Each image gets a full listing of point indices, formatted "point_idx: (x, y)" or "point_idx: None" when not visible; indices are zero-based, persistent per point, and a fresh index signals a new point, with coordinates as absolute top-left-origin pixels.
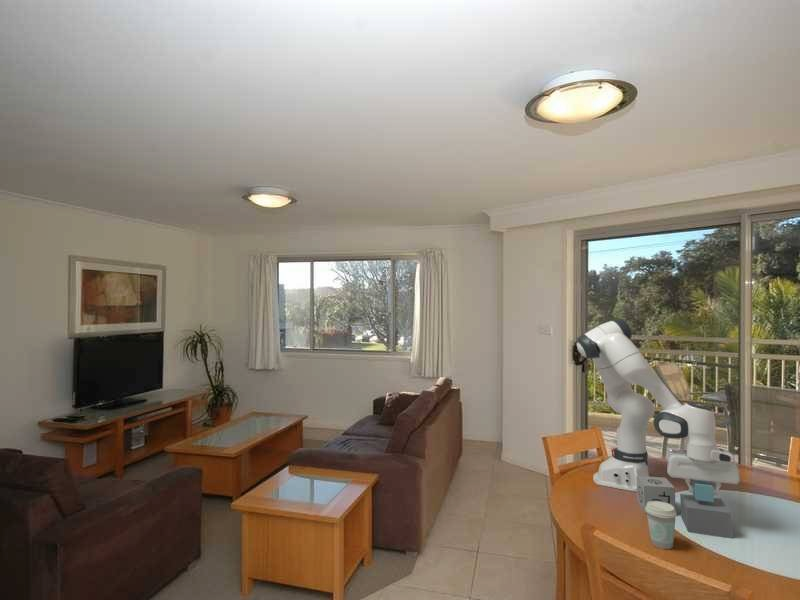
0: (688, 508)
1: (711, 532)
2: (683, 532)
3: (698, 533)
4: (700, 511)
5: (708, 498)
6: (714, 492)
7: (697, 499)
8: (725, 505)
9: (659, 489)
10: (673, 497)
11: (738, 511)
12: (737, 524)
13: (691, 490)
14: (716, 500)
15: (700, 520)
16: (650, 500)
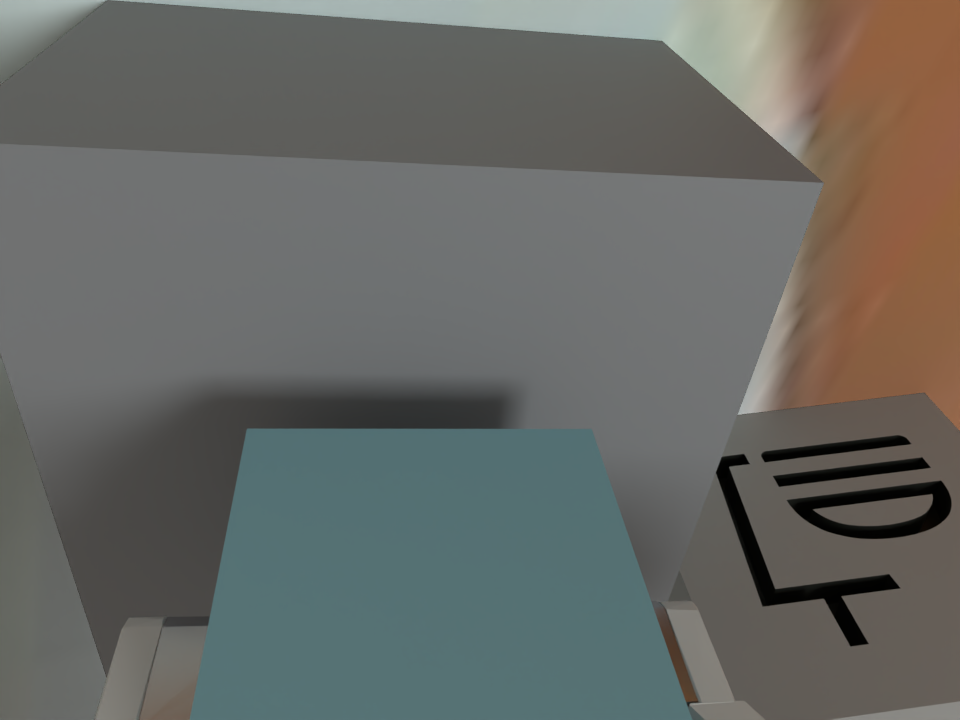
0: (790, 171)
1: (375, 30)
2: (728, 9)
3: (537, 33)
4: (565, 150)
5: (353, 475)
6: (181, 666)
7: (567, 440)
8: (46, 482)
9: (935, 660)
10: (713, 595)
11: (8, 672)
12: (24, 431)
13: (672, 633)
14: (179, 611)
15: (540, 86)
16: (955, 510)
